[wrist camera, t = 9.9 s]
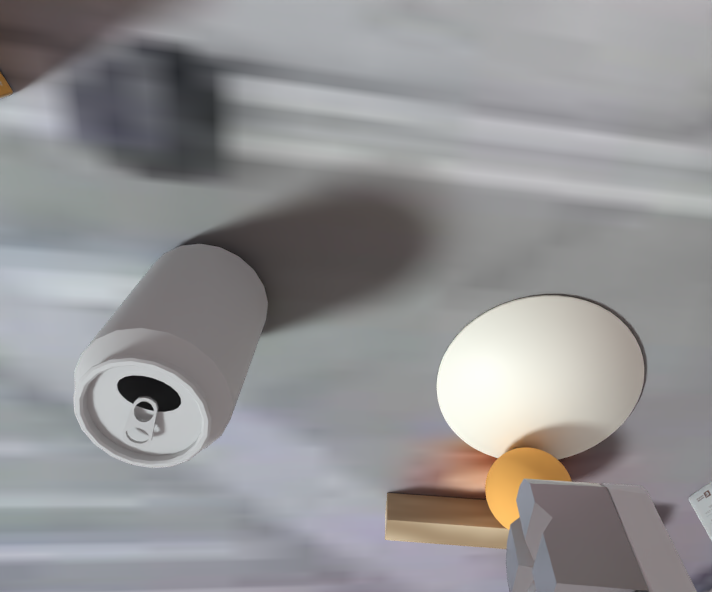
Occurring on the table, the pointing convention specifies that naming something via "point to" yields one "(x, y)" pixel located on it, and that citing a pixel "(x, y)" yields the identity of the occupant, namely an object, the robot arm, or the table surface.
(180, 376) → the can
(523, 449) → the ball
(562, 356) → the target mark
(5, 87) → the small box
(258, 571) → the table surface
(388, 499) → the rail
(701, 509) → the supplement box
